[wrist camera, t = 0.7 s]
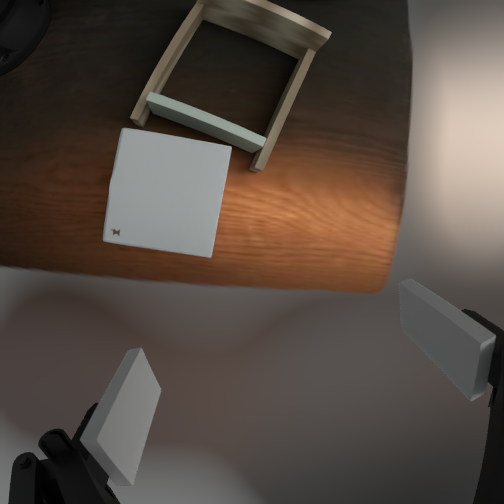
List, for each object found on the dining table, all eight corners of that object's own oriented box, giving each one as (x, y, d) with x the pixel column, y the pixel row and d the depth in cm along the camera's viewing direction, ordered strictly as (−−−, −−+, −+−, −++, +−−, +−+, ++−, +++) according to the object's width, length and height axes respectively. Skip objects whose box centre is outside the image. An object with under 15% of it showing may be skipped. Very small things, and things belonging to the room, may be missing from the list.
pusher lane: (136, 124, 34) (122, 108, 27) (200, 11, 33) (203, -22, 25) (255, 173, 38) (271, 168, 30) (308, 56, 36) (331, 32, 29)
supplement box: (205, 236, 39) (212, 263, 24) (133, 224, 37) (98, 244, 22) (219, 163, 37) (235, 144, 23) (147, 150, 35) (119, 125, 21)
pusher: (152, 113, 34) (145, 99, 28) (156, 106, 34) (150, 91, 28) (252, 153, 37) (262, 146, 32) (255, 146, 37) (266, 138, 31)
